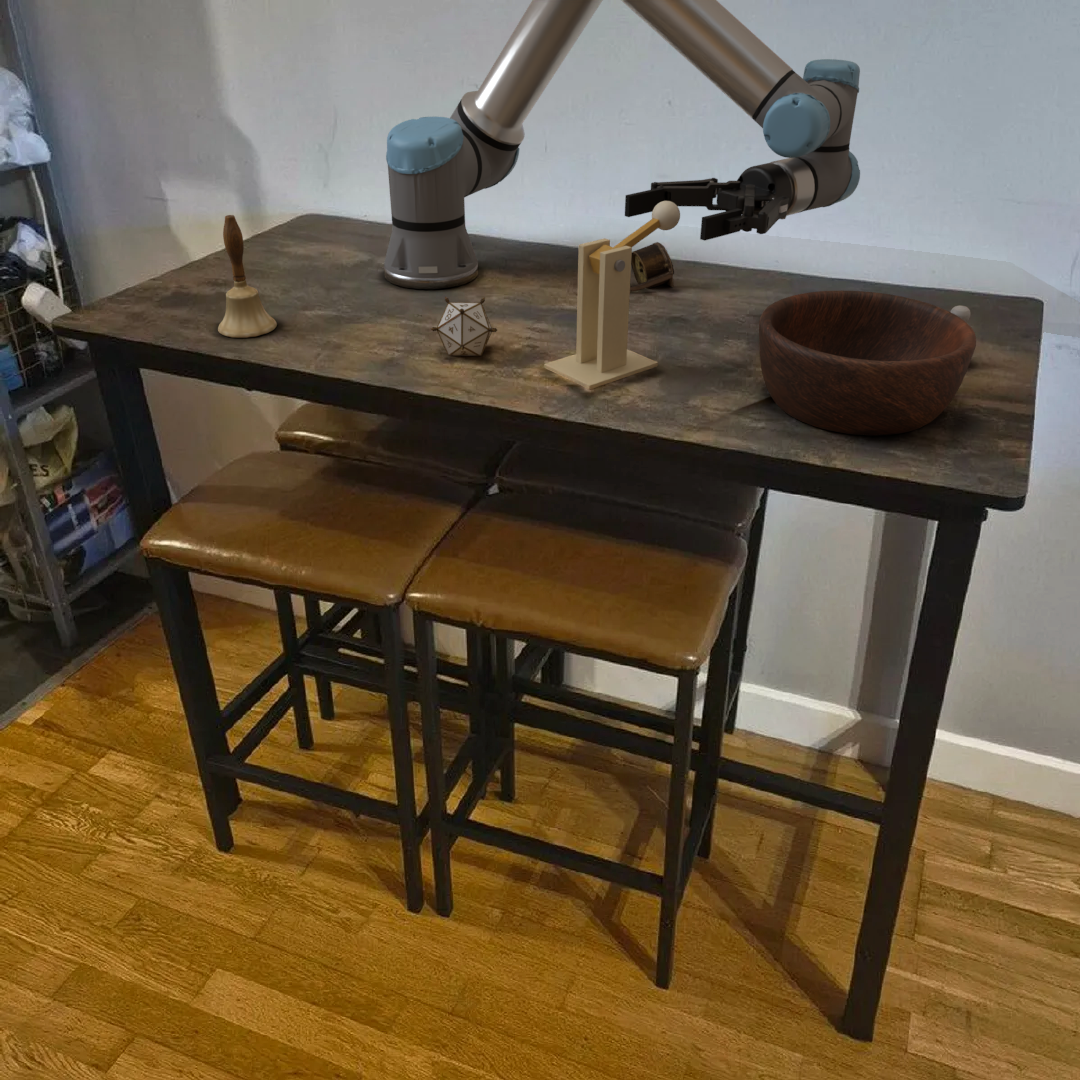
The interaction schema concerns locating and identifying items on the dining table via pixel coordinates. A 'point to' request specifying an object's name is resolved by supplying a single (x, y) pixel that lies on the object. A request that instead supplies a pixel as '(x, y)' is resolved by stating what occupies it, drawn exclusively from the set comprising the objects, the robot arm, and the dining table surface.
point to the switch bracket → (602, 321)
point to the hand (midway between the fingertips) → (663, 217)
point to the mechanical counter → (651, 267)
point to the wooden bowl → (863, 360)
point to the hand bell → (241, 293)
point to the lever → (643, 230)
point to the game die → (464, 328)
